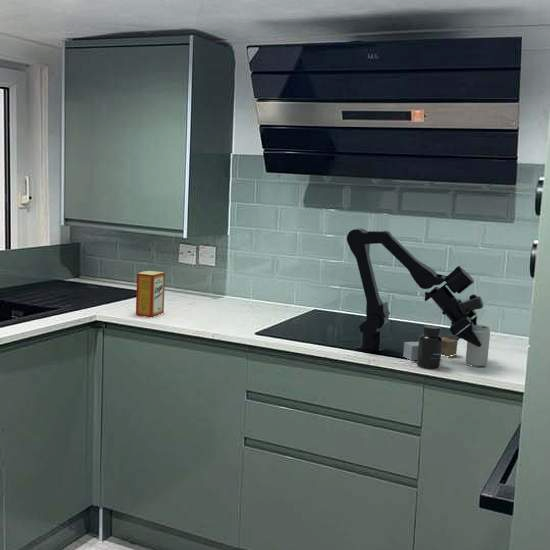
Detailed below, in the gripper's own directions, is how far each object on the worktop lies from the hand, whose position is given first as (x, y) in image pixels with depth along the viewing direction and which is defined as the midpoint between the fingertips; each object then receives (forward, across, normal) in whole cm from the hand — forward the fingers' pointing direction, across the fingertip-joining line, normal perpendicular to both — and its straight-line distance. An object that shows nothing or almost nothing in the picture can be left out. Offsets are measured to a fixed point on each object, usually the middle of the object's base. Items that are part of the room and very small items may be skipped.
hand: (481, 343), depth 218 cm
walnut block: (-3, +8, +13) cm, 16 cm away
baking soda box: (-80, +7, +90) cm, 120 cm away
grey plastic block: (-9, -4, +19) cm, 21 cm away
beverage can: (+4, 0, +6) cm, 7 cm away
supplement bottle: (-5, -10, +15) cm, 19 cm away
